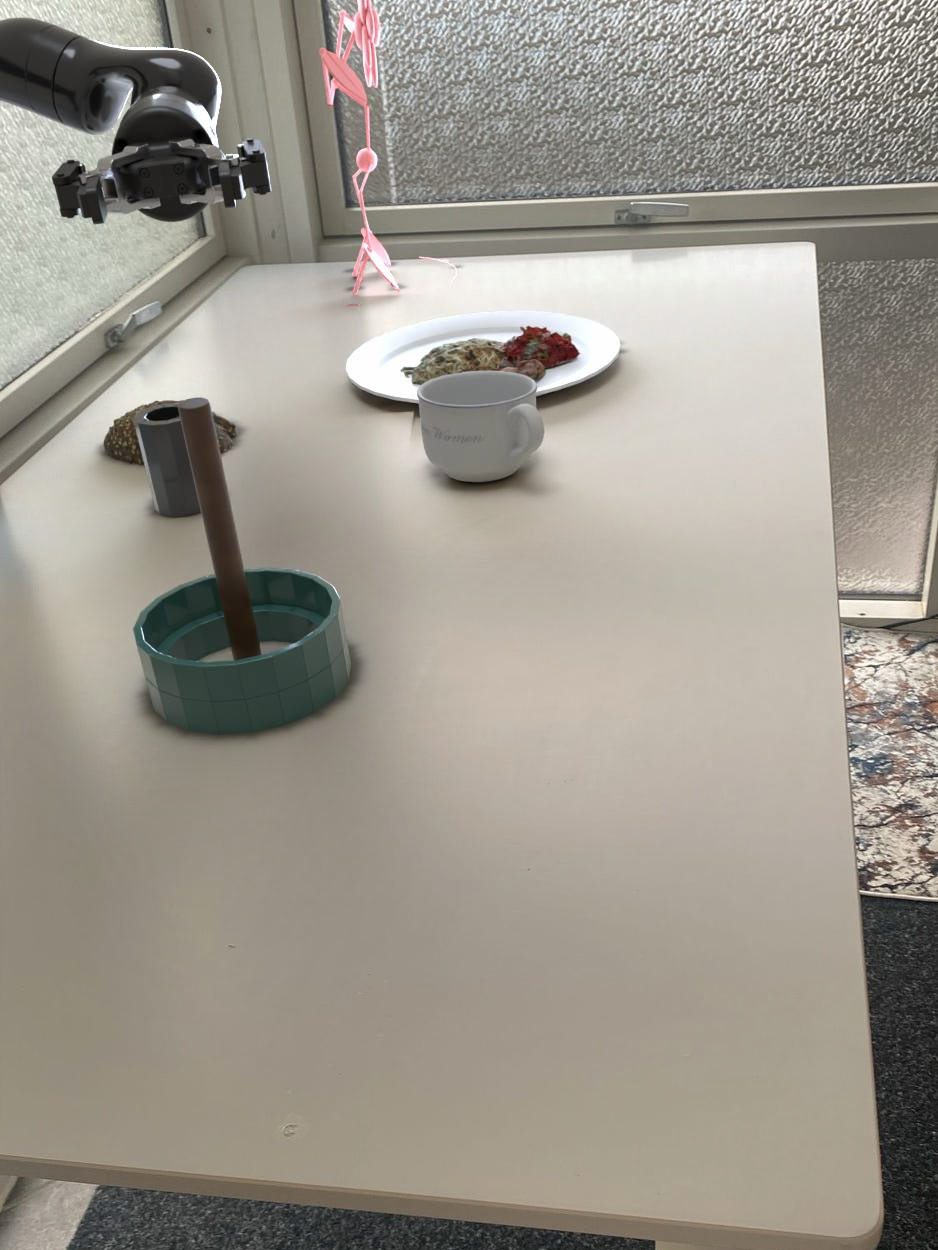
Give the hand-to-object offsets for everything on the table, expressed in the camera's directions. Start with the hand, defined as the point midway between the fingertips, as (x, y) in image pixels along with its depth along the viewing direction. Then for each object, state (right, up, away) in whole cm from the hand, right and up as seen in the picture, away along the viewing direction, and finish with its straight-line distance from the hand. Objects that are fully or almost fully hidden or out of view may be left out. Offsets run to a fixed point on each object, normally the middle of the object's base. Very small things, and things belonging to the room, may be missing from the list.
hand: (160, 198), depth 86 cm
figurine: (+10, +34, +93) cm, 99 cm away
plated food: (+21, +11, +61) cm, 65 cm away
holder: (-6, -11, +37) cm, 38 cm away
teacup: (+22, -7, +37) cm, 44 cm away
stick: (+4, -30, +10) cm, 32 cm away
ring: (+4, -30, +10) cm, 32 cm away
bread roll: (-10, -1, +49) cm, 50 cm away
